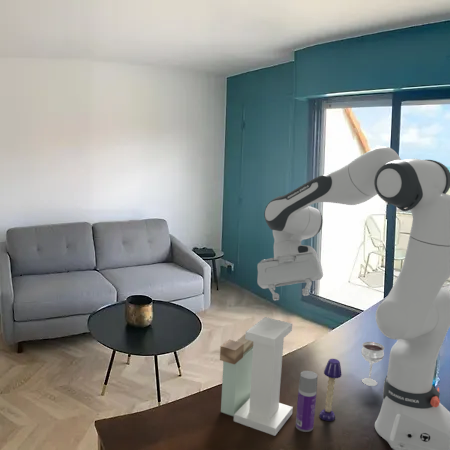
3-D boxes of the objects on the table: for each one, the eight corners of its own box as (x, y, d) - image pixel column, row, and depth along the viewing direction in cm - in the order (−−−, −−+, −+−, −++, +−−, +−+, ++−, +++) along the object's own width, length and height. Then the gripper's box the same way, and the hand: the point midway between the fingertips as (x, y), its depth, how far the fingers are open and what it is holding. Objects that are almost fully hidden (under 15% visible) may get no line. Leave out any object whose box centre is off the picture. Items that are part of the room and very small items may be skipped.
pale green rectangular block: (252, 396, 151) (256, 345, 148) (233, 416, 141) (236, 361, 137) (240, 392, 153) (243, 342, 149) (220, 411, 142) (223, 358, 139)
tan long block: (264, 339, 152) (265, 326, 151) (234, 364, 136) (235, 350, 135) (250, 335, 154) (251, 322, 153) (219, 360, 138) (220, 346, 137)
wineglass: (353, 380, 163) (357, 345, 160) (365, 374, 167) (369, 339, 165) (372, 389, 158) (377, 353, 155) (384, 382, 162) (389, 347, 160)
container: (313, 433, 135) (317, 380, 132) (294, 430, 136) (299, 377, 133) (313, 423, 139) (318, 371, 136) (296, 420, 140) (300, 369, 137)
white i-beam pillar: (292, 413, 143) (299, 325, 138) (275, 435, 133) (282, 341, 127) (253, 400, 149) (258, 315, 143) (233, 421, 138) (238, 329, 133)
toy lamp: (324, 410, 146) (329, 355, 142) (339, 416, 143) (345, 360, 140) (316, 417, 142) (321, 361, 138) (332, 423, 139) (338, 366, 136)
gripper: (253, 257, 164) (254, 299, 157) (316, 245, 156) (320, 289, 149) (261, 264, 169) (262, 305, 162) (322, 253, 161) (326, 295, 154)
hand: (290, 297), depth 156 cm, fingers open, 8 cm apart
